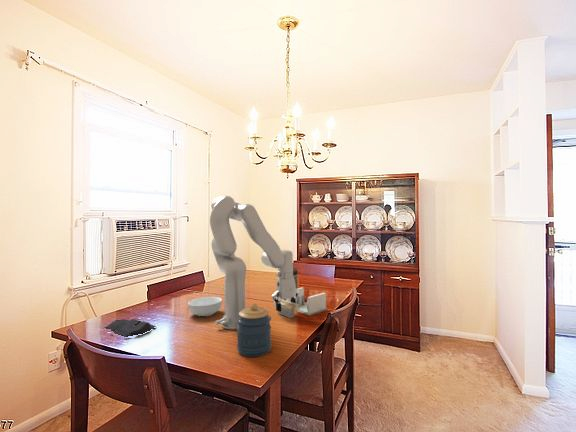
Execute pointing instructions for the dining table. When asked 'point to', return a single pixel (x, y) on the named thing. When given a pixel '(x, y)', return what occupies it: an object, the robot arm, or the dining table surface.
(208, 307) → the cereal bowl
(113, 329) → the dark slate chunk
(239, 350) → the canister
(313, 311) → the peg stand
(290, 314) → the block
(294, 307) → the board
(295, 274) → the coffee jar
